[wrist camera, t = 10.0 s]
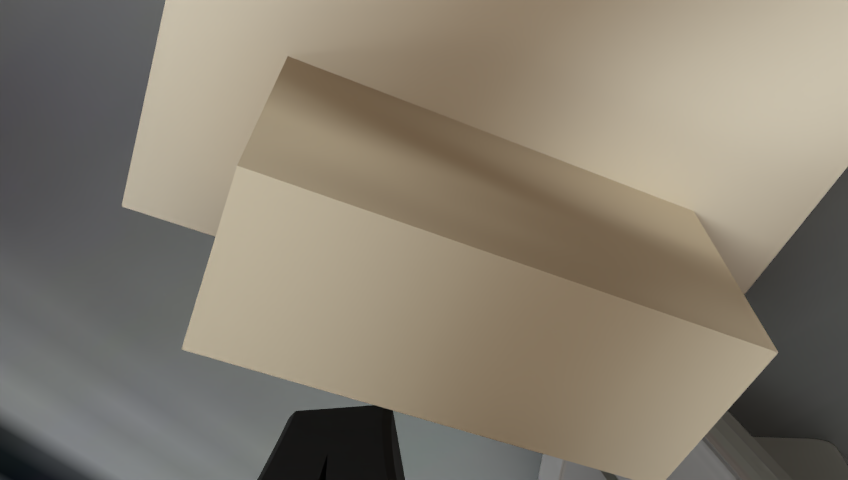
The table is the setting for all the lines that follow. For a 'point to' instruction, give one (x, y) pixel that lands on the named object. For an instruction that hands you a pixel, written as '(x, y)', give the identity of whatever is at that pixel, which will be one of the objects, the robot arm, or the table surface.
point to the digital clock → (731, 459)
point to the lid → (497, 201)
